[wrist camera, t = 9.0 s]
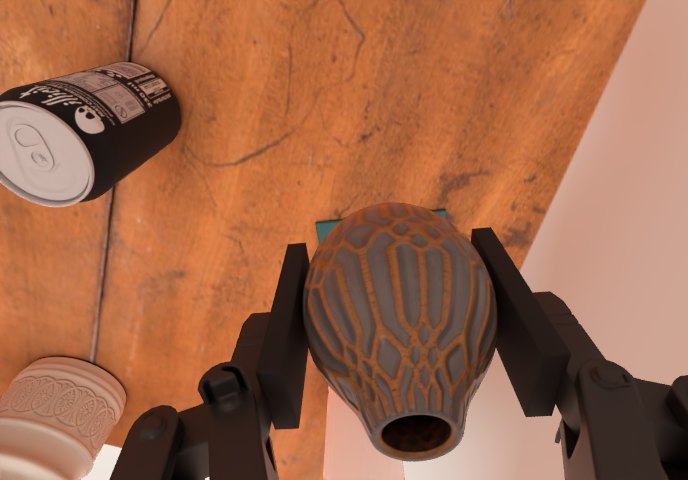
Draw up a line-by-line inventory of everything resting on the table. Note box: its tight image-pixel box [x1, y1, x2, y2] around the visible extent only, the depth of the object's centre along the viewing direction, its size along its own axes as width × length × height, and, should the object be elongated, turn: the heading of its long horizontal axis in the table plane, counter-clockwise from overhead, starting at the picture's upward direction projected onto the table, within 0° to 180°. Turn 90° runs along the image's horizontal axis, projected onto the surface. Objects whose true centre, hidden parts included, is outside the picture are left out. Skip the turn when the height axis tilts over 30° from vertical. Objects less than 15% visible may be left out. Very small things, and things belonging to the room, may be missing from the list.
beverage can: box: [0, 62, 181, 207], centre depth 25 cm, size 7×7×12 cm
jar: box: [0, 357, 126, 480], centre depth 41 cm, size 13×13×18 cm
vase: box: [302, 203, 498, 461], centre depth 13 cm, size 7×7×9 cm
